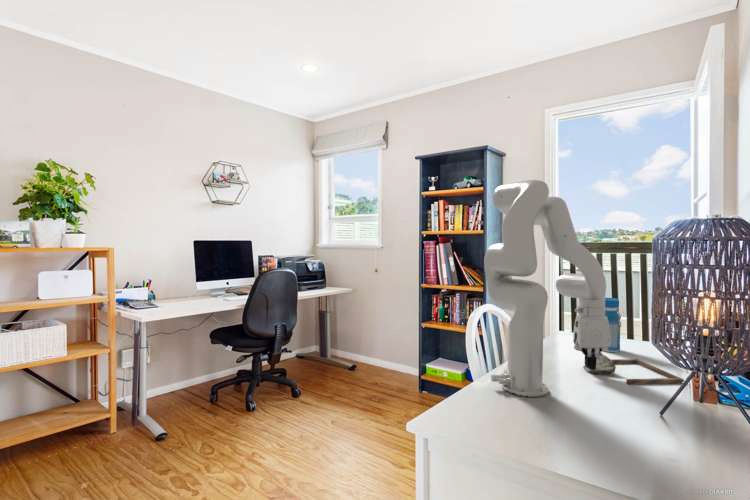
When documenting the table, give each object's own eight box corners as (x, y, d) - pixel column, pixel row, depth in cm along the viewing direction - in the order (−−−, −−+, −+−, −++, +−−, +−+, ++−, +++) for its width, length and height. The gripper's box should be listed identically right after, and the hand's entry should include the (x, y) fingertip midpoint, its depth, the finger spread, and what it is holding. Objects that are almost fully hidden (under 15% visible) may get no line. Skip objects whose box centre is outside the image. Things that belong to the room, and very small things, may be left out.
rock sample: (572, 357, 137) (593, 341, 136) (580, 368, 141) (601, 352, 140) (593, 379, 128) (617, 362, 127) (601, 390, 132) (624, 374, 131)
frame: (629, 384, 122) (629, 380, 122) (589, 363, 142) (589, 359, 142) (683, 383, 123) (683, 379, 123) (636, 362, 143) (637, 359, 143)
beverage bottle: (605, 353, 154) (606, 300, 154) (590, 347, 163) (591, 297, 162) (625, 352, 155) (627, 300, 155) (610, 346, 164) (611, 297, 163)
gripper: (575, 314, 127) (574, 372, 128) (621, 313, 128) (620, 371, 129) (562, 309, 134) (562, 364, 135) (606, 309, 135) (605, 363, 136)
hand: (590, 367), depth 132 cm, fingers closed
